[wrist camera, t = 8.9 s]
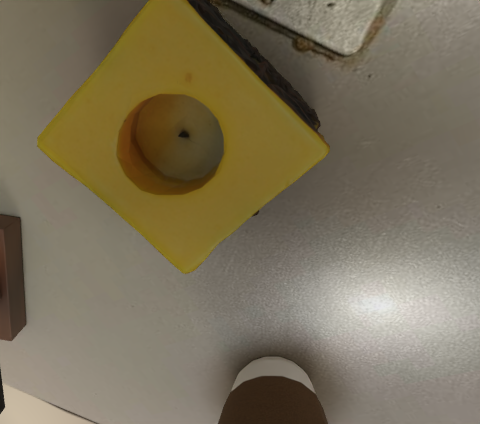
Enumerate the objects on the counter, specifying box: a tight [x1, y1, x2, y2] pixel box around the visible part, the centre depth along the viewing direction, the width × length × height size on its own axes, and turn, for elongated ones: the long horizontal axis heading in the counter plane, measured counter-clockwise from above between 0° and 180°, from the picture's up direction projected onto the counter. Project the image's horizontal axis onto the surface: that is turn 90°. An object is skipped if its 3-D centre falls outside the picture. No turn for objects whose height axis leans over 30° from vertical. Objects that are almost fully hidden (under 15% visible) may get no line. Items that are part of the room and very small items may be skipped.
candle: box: [37, 0, 330, 274], centre depth 24 cm, size 10×10×10 cm
